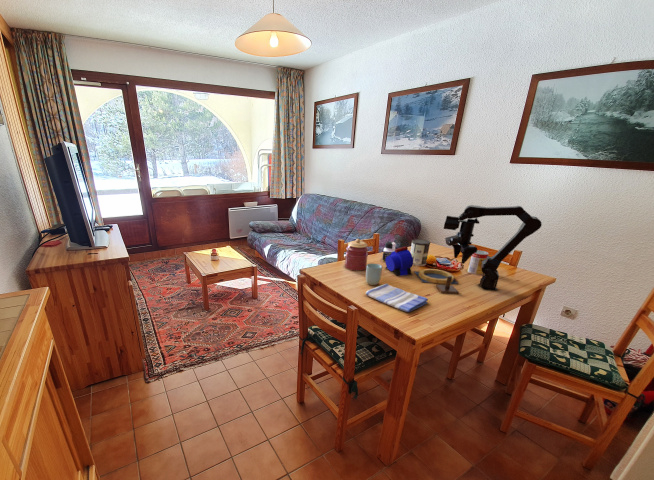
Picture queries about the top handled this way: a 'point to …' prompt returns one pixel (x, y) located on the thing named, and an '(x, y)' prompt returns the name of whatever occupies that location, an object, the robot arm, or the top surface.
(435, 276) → the felt mat
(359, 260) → the kitchen canister
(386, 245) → the medicine bottle
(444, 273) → the hoop
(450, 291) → the peg stand
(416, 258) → the coffee can
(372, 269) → the cup
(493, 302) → the top surface
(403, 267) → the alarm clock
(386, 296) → the dish towel
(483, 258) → the canned food
